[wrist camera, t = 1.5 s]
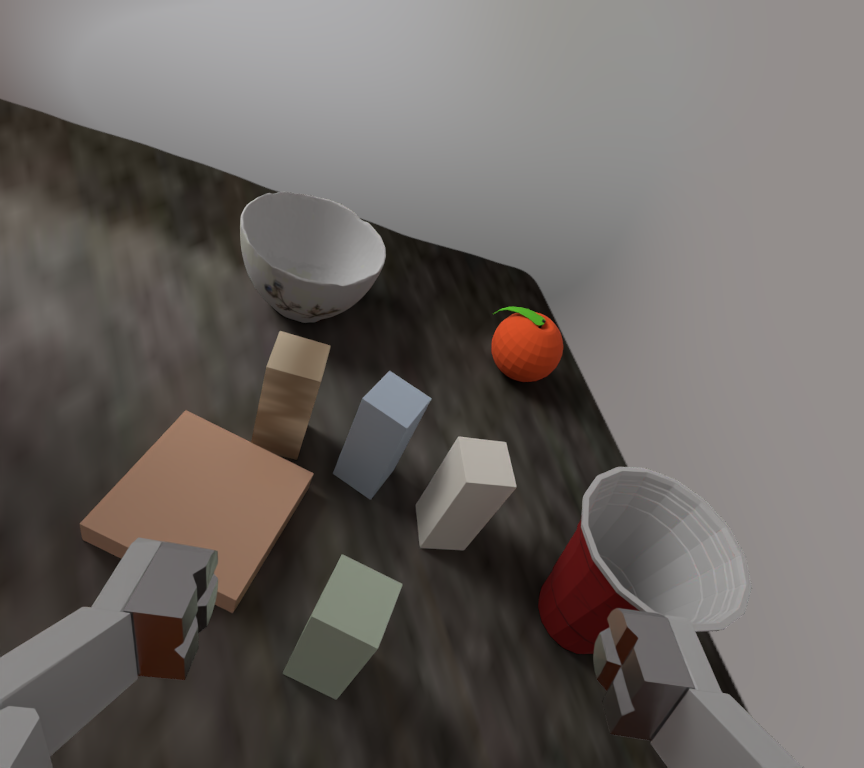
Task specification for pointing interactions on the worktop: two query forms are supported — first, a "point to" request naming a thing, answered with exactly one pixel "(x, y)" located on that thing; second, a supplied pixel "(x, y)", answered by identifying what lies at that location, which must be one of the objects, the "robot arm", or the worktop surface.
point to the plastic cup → (644, 560)
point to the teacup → (308, 254)
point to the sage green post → (343, 628)
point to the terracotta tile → (203, 501)
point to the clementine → (526, 345)
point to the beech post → (289, 394)
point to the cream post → (464, 493)
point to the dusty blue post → (380, 433)
